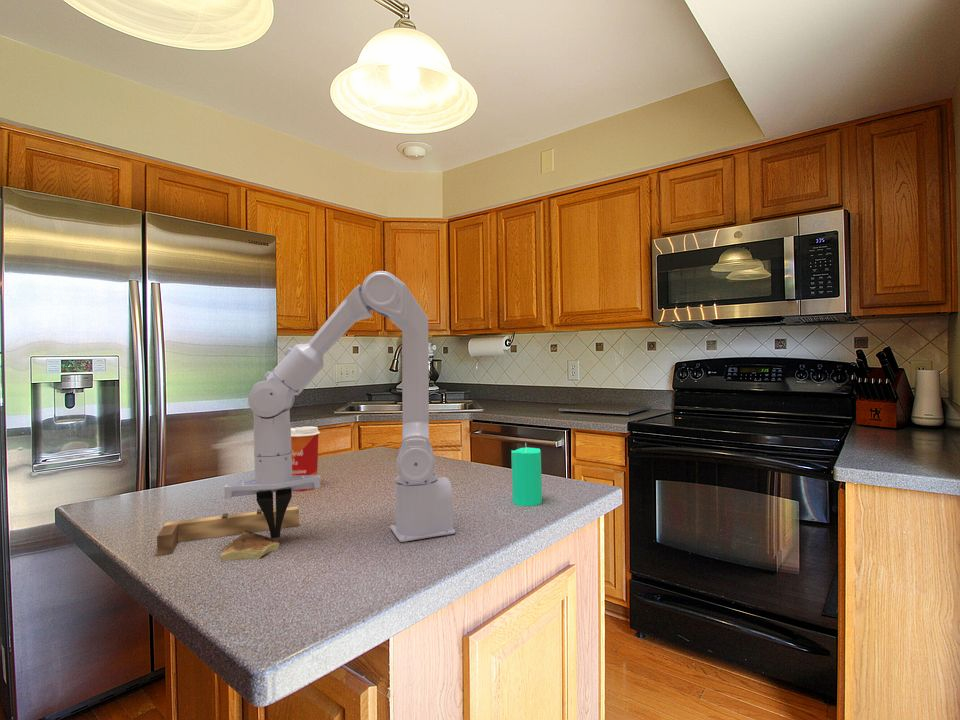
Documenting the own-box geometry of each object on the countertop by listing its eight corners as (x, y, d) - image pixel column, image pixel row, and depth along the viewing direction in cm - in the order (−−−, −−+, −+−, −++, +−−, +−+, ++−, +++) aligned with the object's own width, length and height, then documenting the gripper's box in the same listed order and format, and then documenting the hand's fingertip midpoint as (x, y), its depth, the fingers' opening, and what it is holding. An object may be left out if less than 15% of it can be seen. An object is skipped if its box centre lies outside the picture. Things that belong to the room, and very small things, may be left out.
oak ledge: (298, 522, 95) (298, 504, 95) (300, 535, 88) (300, 515, 88) (166, 540, 87) (166, 520, 87) (157, 555, 80) (156, 534, 80)
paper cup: (281, 488, 121) (279, 428, 121) (312, 482, 126) (311, 425, 126) (295, 494, 115) (293, 431, 115) (327, 487, 120) (325, 427, 120)
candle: (534, 496, 108) (533, 439, 108) (547, 504, 103) (545, 443, 103) (508, 499, 106) (506, 441, 106) (519, 507, 101) (517, 446, 101)
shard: (245, 538, 88) (245, 528, 88) (291, 536, 89) (291, 526, 89) (218, 563, 77) (218, 551, 77) (270, 561, 78) (270, 549, 78)
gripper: (317, 446, 91) (319, 522, 91) (226, 453, 86) (228, 535, 86) (320, 452, 85) (322, 535, 85) (222, 461, 79) (224, 549, 79)
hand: (275, 536), depth 85 cm, fingers closed
